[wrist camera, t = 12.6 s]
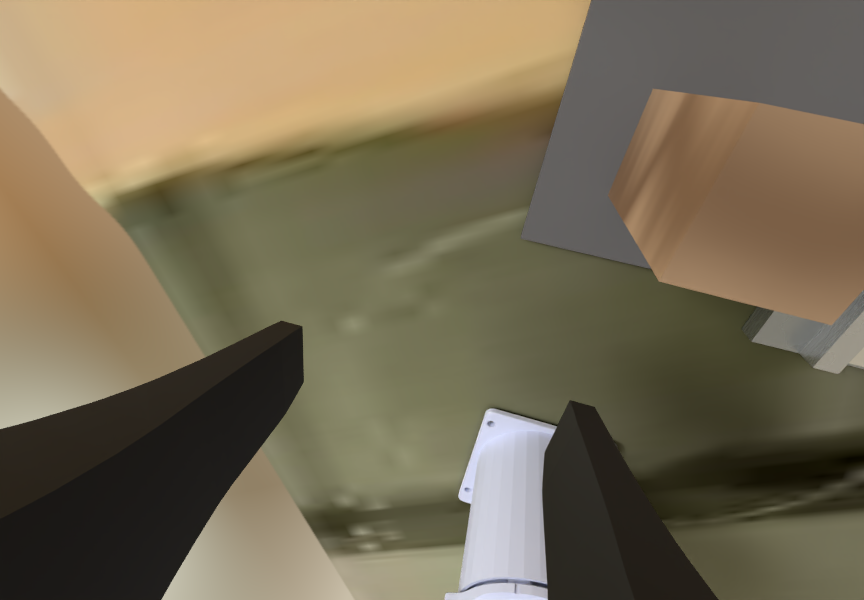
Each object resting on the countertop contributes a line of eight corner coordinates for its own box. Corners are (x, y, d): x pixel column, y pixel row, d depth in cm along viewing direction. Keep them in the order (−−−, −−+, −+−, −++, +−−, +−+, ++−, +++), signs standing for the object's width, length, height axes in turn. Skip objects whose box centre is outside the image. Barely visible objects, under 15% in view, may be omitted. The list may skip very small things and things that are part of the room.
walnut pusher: (706, 218, 16) (831, 325, 9) (607, 195, 16) (659, 281, 10) (767, 112, 14) (988, 150, 7) (652, 88, 14) (759, 102, 7)
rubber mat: (743, 287, 17) (747, 291, 17) (521, 235, 18) (520, 238, 18) (930, 11, 12) (941, 9, 12) (603, -39, 13) (604, -42, 13)
